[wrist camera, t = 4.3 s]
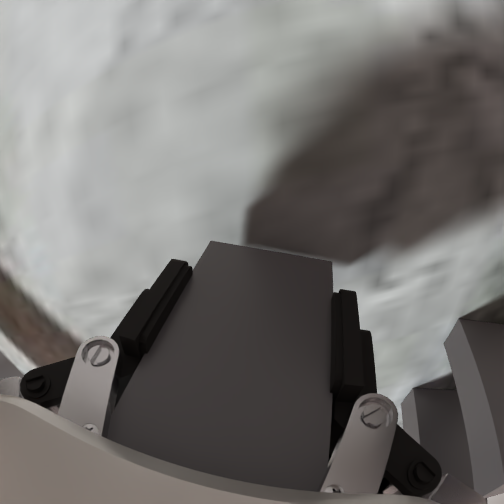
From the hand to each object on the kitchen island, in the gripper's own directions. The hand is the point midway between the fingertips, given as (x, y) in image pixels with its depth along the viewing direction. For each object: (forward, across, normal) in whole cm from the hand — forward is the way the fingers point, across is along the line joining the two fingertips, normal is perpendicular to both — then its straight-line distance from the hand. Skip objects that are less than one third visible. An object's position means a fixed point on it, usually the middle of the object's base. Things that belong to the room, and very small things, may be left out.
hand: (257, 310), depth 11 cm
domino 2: (+4, -13, +10) cm, 17 cm away
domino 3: (+4, -13, +3) cm, 14 cm away
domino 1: (+3, 0, 0) cm, 3 cm away
